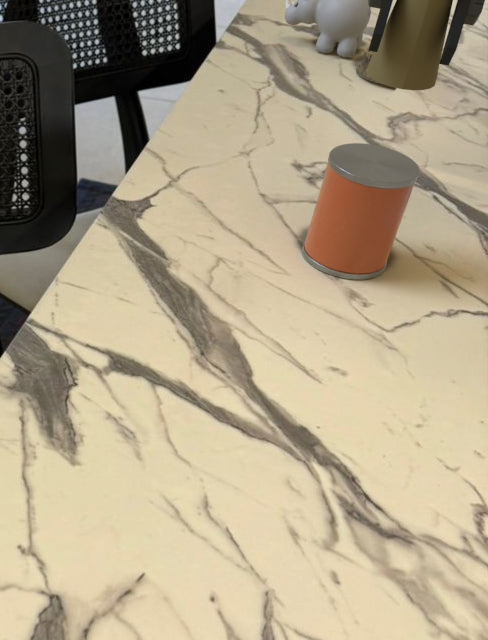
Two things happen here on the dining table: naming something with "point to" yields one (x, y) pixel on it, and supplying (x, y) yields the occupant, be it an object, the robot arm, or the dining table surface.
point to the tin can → (359, 210)
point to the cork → (411, 45)
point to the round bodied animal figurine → (332, 22)
